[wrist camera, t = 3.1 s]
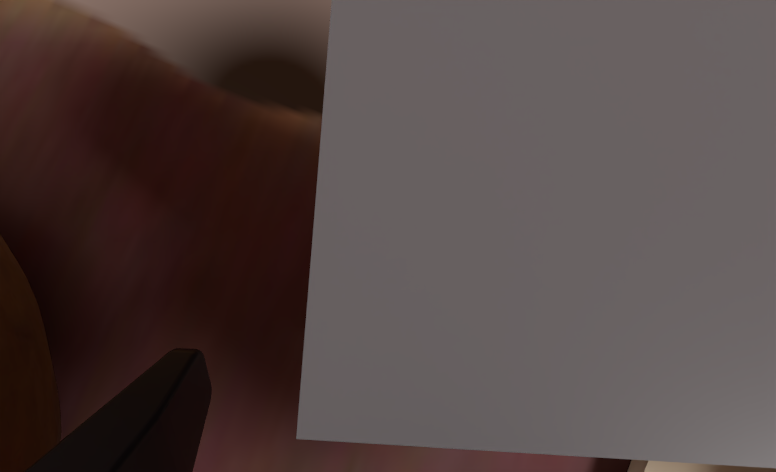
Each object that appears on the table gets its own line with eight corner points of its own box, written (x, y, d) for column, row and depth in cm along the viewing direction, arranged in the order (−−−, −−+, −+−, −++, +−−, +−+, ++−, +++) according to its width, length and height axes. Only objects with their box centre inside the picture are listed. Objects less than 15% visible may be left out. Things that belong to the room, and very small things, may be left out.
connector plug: (520, 379, 17) (842, 473, 5) (374, 370, 18) (296, 438, 5) (521, 235, 18) (793, -20, 6) (382, 229, 18) (334, -31, 6)
